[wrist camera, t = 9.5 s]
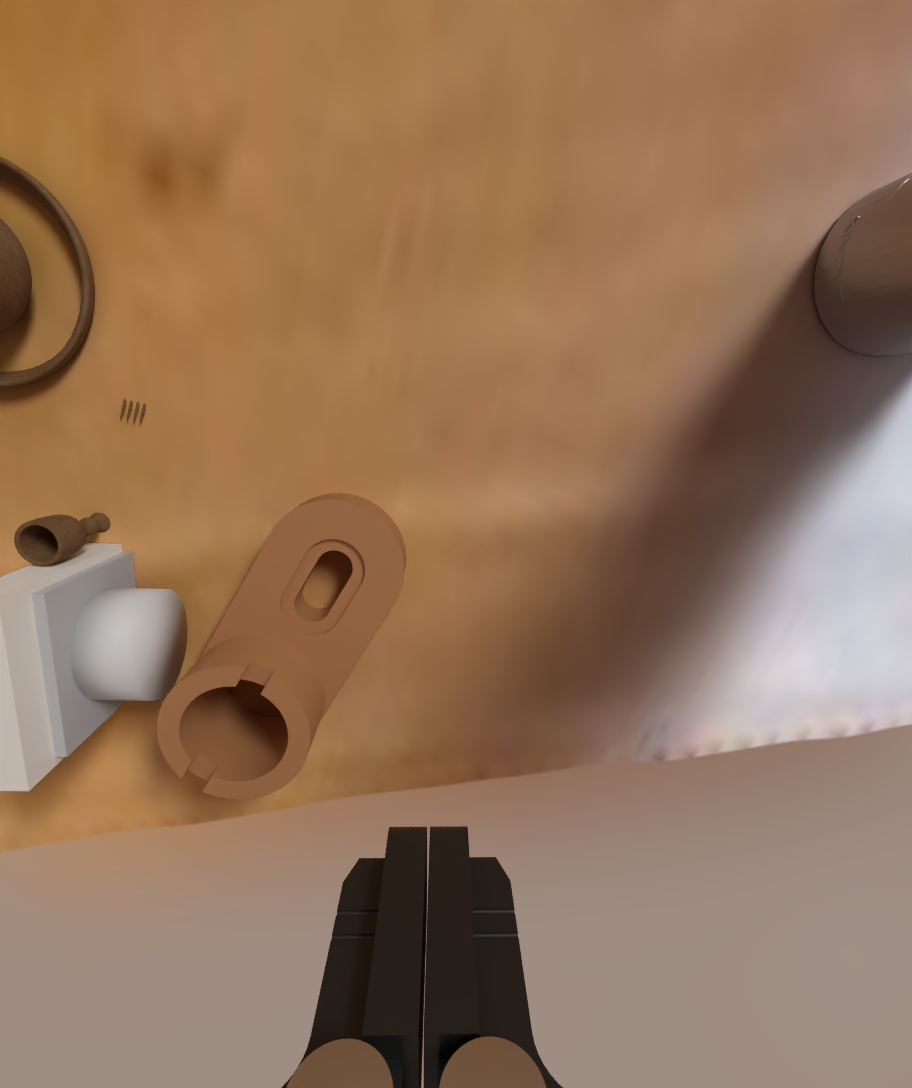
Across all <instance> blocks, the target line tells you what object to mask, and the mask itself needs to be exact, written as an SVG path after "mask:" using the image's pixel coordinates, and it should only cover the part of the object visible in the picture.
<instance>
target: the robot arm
mask: <svg viewBox="0 0 912 1088" xmlns="http://www.w3.org/2000/svg"><path fill="white" fill-rule="evenodd" d="M814 293H815V303H816V306H817V310H818V313H819V316H820V319H821V321H822V322H823V324H824V326H825V327H826V329H827V331H828V332H829V334H830V335H831V336H832V337H833V338H834V339H835V340H836V341H837V342H838V343H839V344H841V345H843V346H845V347H846V348H848V349H850V350H851V351H854V352H857V353H861V354H864V355H872V356H886V355H894V354H903V353H911V352H912V173H910V174H908V175H906V176H904V177H902V178H900V179H898V180H896V181H894V182H892V183H890V184H888V185H886V186H884V187H882V188H880V189H878V190H876V191H874V192H872V193H870V194H868V195H867V196H865V197H864V198H862V199H861V200H859V201H857V202H856V203H854V204H853V205H852V206H851V207H850V208H849V209H848V210H847V211H846V212H845V213H844V214H843V215H842V216H841V217H840V218H839V220H838V221H837V222H836V224H835V225H834V226H833V228H832V229H831V231H830V232H829V234H828V236H827V238H826V240H825V242H824V244H823V246H822V248H821V250H820V254H819V257H818V261H817V265H816V268H815V279H814ZM429 847H430V848H429V880H428V912H427V827H390V828H389V832H388V839H387V847H386V854H385V858H359V860H358V861H357V863H356V864H355V866H354V867H353V869H352V870H351V872H350V873H349V874H348V876H347V878H346V879H345V880H344V882H343V886H342V890H341V895H340V900H339V904H338V909H337V916H336V919H335V924H334V929H333V933H332V941H331V942H330V948H329V952H328V957H327V961H326V966H325V971H324V976H323V980H322V985H321V990H320V995H319V999H318V1004H317V1009H316V1014H315V1018H314V1023H313V1028H312V1033H311V1037H310V1041H309V1044H308V1047H307V1050H306V1052H305V1055H304V1057H303V1059H302V1061H301V1062H300V1064H299V1066H298V1068H297V1069H296V1071H295V1072H294V1073H293V1075H292V1076H291V1078H290V1079H289V1080H288V1082H286V1084H284V1086H283V1087H282V1088H421V1079H422V1077H421V1076H422V1048H423V1015H424V1088H563V1087H561V1086H560V1085H559V1084H558V1083H557V1082H556V1081H555V1080H554V1078H553V1077H552V1076H551V1075H550V1073H549V1072H548V1070H547V1069H546V1067H545V1066H544V1064H543V1063H542V1061H541V1059H540V1057H539V1055H538V1052H537V1049H536V1046H535V1044H534V1039H533V1035H532V1029H531V1022H530V1016H529V1008H528V1001H527V994H526V987H525V981H524V973H523V966H522V959H521V952H520V945H519V939H518V931H517V925H516V918H515V913H514V903H513V896H512V889H511V882H510V879H509V878H508V876H507V875H506V873H505V871H504V870H503V868H502V867H501V865H500V863H499V862H498V860H497V859H496V857H479V858H478V857H473V858H471V857H469V843H468V828H467V827H430V846H429ZM427 913H428V914H427ZM426 919H427V944H426ZM425 954H426V977H425ZM424 984H425V1010H424ZM424 1011H425V1012H424Z"/></svg>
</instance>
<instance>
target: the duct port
mask: <svg viewBox="0 0 912 1088" xmlns="http://www.w3.org/2000/svg"><path fill="white" fill-rule="evenodd" d="M186 644H187V619H186V613H185V609H184V605H183V603H182V601H181V599H180V597H179V596H178V594H177V593H176V592H174V591H173V590H170V589H145V588H136V583H135V573H134V563H133V552H123V551H122V544H107V543H87V544H85V545H83V547H82V548H81V549H80V550H79V551H78V552H76V553H75V554H73V555H71V556H69V557H67V558H65V559H63V560H60V561H58V562H55V563H52V564H49V565H35V564H33V565H30V566H28V567H25V568H23V569H20V570H17V571H15V572H12V573H10V574H7V575H5V576H2V577H0V791H30V790H31V789H32V788H33V787H34V786H35V785H36V784H37V783H38V782H39V781H40V780H41V779H42V778H43V777H44V776H46V775H47V774H48V773H49V772H50V771H51V770H52V769H53V768H54V767H55V766H56V765H57V764H58V763H59V762H60V761H61V760H62V759H64V758H65V757H68V756H69V755H70V754H71V753H72V752H73V751H74V750H75V749H76V748H77V747H78V746H79V745H80V744H81V743H82V742H83V741H84V740H86V739H87V738H88V737H89V736H90V735H91V734H92V733H93V732H94V731H95V730H96V729H97V728H98V727H99V726H100V725H101V724H102V723H103V722H105V721H106V720H107V719H108V718H109V717H110V716H111V715H112V714H113V713H114V712H115V711H116V710H117V709H118V708H119V707H120V706H121V705H122V704H123V703H125V702H126V701H127V700H134V701H156V700H159V699H161V698H163V697H164V696H165V695H166V694H167V693H168V692H169V691H170V690H171V688H172V687H173V685H174V683H175V682H176V680H177V678H178V675H179V673H180V670H181V667H182V664H183V660H184V656H185V651H186Z"/></svg>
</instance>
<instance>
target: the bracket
mask: <svg viewBox="0 0 912 1088" xmlns="http://www.w3.org/2000/svg"><path fill="white" fill-rule="evenodd" d="M332 550H336V551H340V552H343V553H344V554H346V555H347V556H348V557H349V558H350V560H351V562H352V565H353V572H352V573H351V575H350V577H349V578H348V580H347V582H346V583H345V585H344V587H343V588H342V590H341V591H340V593H339V595H338V596H337V598H336V600H335V601H334V603H333V604H332V605H331V606H329V607H327V608H324V609H317V608H314V607H312V606H310V605H309V604H308V603H307V602H306V601H305V599H304V597H303V587H304V585H305V583H306V582H307V580H308V578H309V577H310V575H311V573H312V572H313V570H314V568H315V566H316V565H317V563H318V561H319V560H320V558H321V556H322V555H323V553H325V552H327V551H332ZM405 566H406V551H405V545H404V541H403V538H402V536H401V533H400V531H399V529H398V527H397V526H396V524H395V523H394V521H393V520H392V519H391V518H390V516H389V515H388V514H387V513H386V512H385V511H384V510H383V509H381V508H380V507H379V506H377V505H376V504H374V503H372V502H371V501H369V500H366V499H364V498H362V497H359V496H355V495H351V494H343V493H333V494H325V495H320V496H317V497H314V498H312V499H310V500H308V501H306V502H304V503H302V504H301V505H299V506H298V507H297V508H295V509H294V510H293V511H291V512H290V513H289V514H287V515H286V516H285V517H284V518H283V519H281V520H280V521H279V523H278V524H277V525H276V526H275V527H274V529H273V531H272V532H271V534H270V535H269V537H268V539H267V541H266V542H265V544H264V546H263V548H262V550H261V551H260V553H259V555H258V557H257V558H256V560H255V562H254V564H253V566H252V567H251V569H250V571H249V573H248V574H247V576H246V578H245V580H244V581H243V583H242V585H241V587H240V589H239V590H238V592H237V594H236V596H235V597H234V599H233V601H232V603H231V604H230V606H229V608H228V610H227V612H226V613H225V615H224V617H223V619H222V620H221V622H220V624H219V626H218V628H217V629H216V631H215V633H214V635H213V636H212V638H211V640H210V642H209V643H208V645H207V647H206V649H205V651H204V652H203V654H202V656H201V658H200V659H199V661H198V662H197V663H196V664H195V665H194V666H193V667H192V668H191V669H190V670H189V671H188V673H187V674H186V675H185V676H184V677H183V678H182V679H181V680H180V681H179V682H178V683H177V684H176V685H175V686H174V688H173V689H172V690H171V691H170V692H169V693H168V695H167V696H166V698H165V699H164V701H163V703H162V705H161V708H160V710H159V714H158V718H157V739H158V743H159V747H160V749H161V752H162V754H163V756H164V758H165V760H166V762H167V763H168V765H169V766H170V767H171V769H172V770H173V771H174V772H175V773H176V774H177V775H178V776H179V777H180V778H181V779H182V777H183V776H184V774H185V773H186V771H187V770H189V771H190V772H192V773H193V774H195V775H196V776H198V777H199V778H201V779H203V780H205V781H207V782H208V783H207V784H206V786H205V788H204V789H203V791H202V792H204V793H206V794H208V795H212V796H215V797H219V798H224V799H232V800H244V799H253V798H258V797H262V796H265V795H268V794H271V793H273V792H275V791H277V790H279V789H280V788H282V787H283V786H285V785H286V784H287V783H289V782H290V781H291V780H292V779H293V778H294V777H295V776H296V775H297V773H298V772H299V771H300V769H301V768H302V766H303V764H304V762H305V760H306V758H307V755H308V752H309V749H310V747H311V744H312V741H313V738H314V736H315V733H316V730H317V727H318V725H319V722H320V720H321V719H322V717H323V716H324V714H325V712H326V711H327V709H328V708H329V706H330V704H331V703H332V701H333V700H334V698H335V697H336V695H337V693H338V692H339V690H340V689H341V687H342V686H343V684H344V682H345V681H346V679H347V678H348V676H349V674H350V673H351V671H352V670H353V668H354V667H355V665H356V663H357V662H358V660H359V659H360V657H361V655H362V654H363V652H364V651H365V649H366V648H367V646H368V644H369V643H370V641H371V640H372V638H373V636H374V635H375V633H376V632H377V630H378V629H379V627H380V625H381V624H382V622H383V621H384V619H385V618H386V616H387V614H388V613H389V611H390V610H391V608H392V606H393V605H394V603H395V601H396V600H397V598H398V596H399V593H400V591H401V587H402V584H403V578H404V572H405ZM241 679H242V680H248V681H252V682H255V683H258V684H260V685H263V686H265V687H264V689H263V691H262V692H261V695H262V696H264V697H266V698H267V699H268V700H270V701H271V702H272V703H273V704H274V705H275V706H276V707H277V708H278V710H279V711H280V712H281V714H282V715H281V716H262V715H258V714H255V713H252V712H250V711H248V710H246V709H245V708H243V707H242V706H241V705H239V704H238V703H237V702H236V701H235V700H234V698H233V697H232V696H231V694H230V693H229V691H228V688H227V687H236V685H237V684H238V682H239V681H240V680H241Z"/></svg>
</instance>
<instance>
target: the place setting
mask: <svg viewBox="0 0 912 1088" xmlns="http://www.w3.org/2000/svg"><path fill="white" fill-rule="evenodd" d="M0 179H3V180H6V181H8V182H10V183H12V184H14V185H16V186H18V187H20V188H22V189H23V190H25V191H26V192H28V193H29V194H31V195H32V196H34V197H35V198H36V199H37V200H38V201H40V202H41V203H42V204H43V205H44V206H45V207H46V208H47V209H48V210H49V211H50V212H51V213H52V214H53V215H54V216H55V218H56V219H57V220H58V222H59V223H60V224H61V225H62V227H63V229H64V230H65V232H66V233H67V235H68V236H69V238H70V240H71V242H72V244H73V246H74V249H75V251H76V254H77V258H78V262H79V266H80V272H81V281H82V300H81V307H80V313H79V317H78V320H77V324H76V327H75V329H74V331H73V333H72V335H71V338H70V339H69V341H68V342H67V344H66V345H65V347H64V348H63V349H62V350H61V351H60V352H59V353H58V354H57V355H56V356H54V357H53V358H52V359H50V360H48V361H47V362H45V363H43V364H41V365H39V366H36V367H34V368H31V369H26V370H22V371H13V372H2V371H0V387H11V386H19V385H24V384H28V383H32V382H35V381H37V380H40V379H42V378H45V377H47V376H48V375H50V374H52V373H53V372H55V371H57V370H58V369H59V368H61V367H62V366H63V365H64V364H66V363H67V362H68V361H69V360H70V358H71V357H72V356H73V355H74V354H75V353H76V351H77V350H78V348H79V347H80V345H81V344H82V342H83V341H84V338H85V336H86V334H87V332H88V330H89V326H90V323H91V320H92V316H93V310H94V303H95V286H94V276H93V270H92V266H91V262H90V258H89V255H88V252H87V249H86V246H85V244H84V241H83V239H82V237H81V235H80V233H79V231H78V229H77V227H76V226H75V224H74V222H73V221H72V219H71V218H70V216H69V214H68V213H67V212H66V210H65V209H64V208H63V207H62V205H61V204H60V203H59V201H58V200H57V199H56V198H55V197H54V196H53V195H52V194H51V193H50V192H49V191H48V190H47V189H46V188H45V187H44V186H43V185H42V184H41V183H40V182H38V181H37V180H36V179H35V178H34V177H32V176H31V175H30V174H29V173H27V172H26V171H24V170H23V169H21V168H19V167H18V166H16V165H15V164H13V163H12V162H10V161H8V160H6V159H4V158H2V157H0ZM31 287H32V277H31V270H30V265H29V262H28V259H27V256H26V253H25V251H24V249H23V247H22V245H21V243H20V242H19V240H18V239H17V237H16V236H15V234H14V233H13V232H12V230H11V229H10V228H9V227H8V226H7V225H6V224H5V223H4V222H3V221H2V220H1V219H0V331H3V330H4V329H6V328H8V327H9V326H11V325H12V324H13V323H14V322H16V321H17V320H18V319H19V317H20V316H21V315H22V313H23V312H24V310H25V309H26V306H27V304H28V302H29V298H30V295H31ZM125 406H126V399H124V401H123V406H122V411H121V418H122V416H123V413H124V410H125ZM132 406H133V401H131V402H130V405H129V410H128V415H127V420H128V418H129V416H130V413H131V410H132ZM145 409H146V404H144V405H143V409H142V413H141V418H140V423H141V421H142V419H143V416H144V413H145ZM138 410H139V402H137V405H136V409H135V414H134V421H135V419H136V416H137V413H138ZM109 527H110V520H109V518H108V517H107V516H106V515H104V514H102V513H94V514H93V515H92V516H91V517H90V518H83V519H82V520H80V521H78V520H77V519H75V518H73V517H71V516H67V515H52V516H47V517H43V518H38V519H35V520H32V521H29V522H26V523H24V524H22V525H21V526H20V527H19V528H18V529H17V531H16V533H15V537H14V542H15V546H16V549H17V551H18V552H19V554H20V555H21V556H22V557H23V558H24V559H25V560H27V561H28V562H30V563H32V564H35V565H49V564H52V563H55V562H58V561H60V560H63V559H65V558H67V557H69V556H71V555H73V554H75V553H76V552H78V551H79V550H80V549H81V548H82V547H83V545H84V544H85V542H86V535H93V534H95V533H97V532H101V533H102V532H106V531H107V530H108V529H109Z"/></svg>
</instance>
